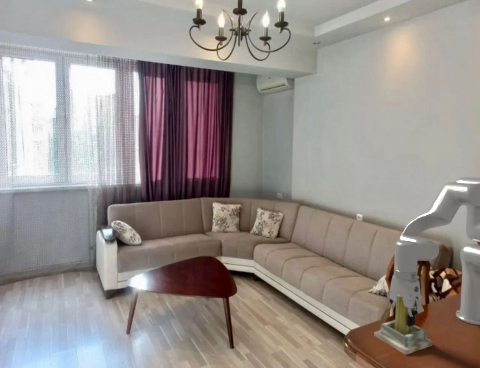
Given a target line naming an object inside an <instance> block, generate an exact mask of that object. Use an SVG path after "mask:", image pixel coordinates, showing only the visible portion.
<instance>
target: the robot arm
mask: <svg viewBox="0 0 480 368" xmlns="http://www.w3.org/2000/svg"><path fill="white" fill-rule="evenodd" d="M461 206H465V207H466V220H465V222H466V224H465V235H466V237H467V238H468V239H469V240H471V241H474V242H478V243H480V177H470V176H469V177H468V176H463V177H459V178H457V179H456V180H455V181H451V182H447V183H445V184H444V185H442V187H441V189H440V190H439V192H438V194H437V195H436V197H435V199H434V200H433V202H432V204H431V206H430V207H429V209H428V210H427V211H426V212H424V213H423V214H421V215H419V216H417V217H416V218H415V219H413V220H411V221H410V222H409V223H408V224H406V227H405V228H404V230H403V231H402V233H401V234H400V236H399V239H398V240H396V241H395V242H394V243H395V244H394V259H393V260H394V262H393V263H394V264H393V266H394V267H393V274H392V278H391V281H390V288H389V289H390V290H389V292H388V293H387V294H386V297H387V299H388V300H389V302H390V304H391V309H392V319H393V320H395V316H396V302H397V295H399V296H401V297H402V298H403V303H404V306H405V307H407V308H408V312H409V316H408V319H407V325H408V326H409V327H410V326H414V325H415V326H416V316H417V315H419V314H420V313H423V312H425V310H424V307H423V306H422V297H421V296H422V294H421V293H422V292H421V285H420V284H421V283H420V282H419V281H420V280H419V279H420V276H419V275H418V261H427V262H428V261H432V260H435V259H436V258H437V257H438V256H439V253H440V247H439V245H438V244H437V243H436V242H435V241H433V240H429V239H427V238H423V237H419V236H420V235H421V234H422V233H423V232H426V231H427V230H429V229H435V228H439V227H444V226H447V225H450V224H451V223H452V221H453V219H454V218H455V216H456V214H457V213H458V210H459V209H460V207H461ZM478 243H468V244H464V245H463V246H462V247H461V249H460V253H459V254H460V257H459V258H460V262H461V269H462V270H461V271H462V272H461V291H460V308H459V310H458V309H457V310H456V312H455V316H456V318H458V319H459V320H460V321H462V322H465V323H467V324H470V325H474V326H480V244H478Z"/></svg>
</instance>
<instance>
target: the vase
mask: <svg viewBox="0 0 480 368" xmlns="http://www.w3.org/2000/svg"><path fill="white" fill-rule="evenodd" d="M408 316H409V312H408V308H407V307H405V306H404V303H403V298H402V297H401V296H399V295H397V302H396V316H395V319H394V320H395V328H394V330H396V331H398V332H400V333H401V334H403V335H408V334H411V333H412V326H410V327H409V326H408V325H407V319H408Z"/></svg>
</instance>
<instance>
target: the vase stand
mask: <svg viewBox="0 0 480 368" xmlns="http://www.w3.org/2000/svg"><path fill="white" fill-rule="evenodd" d="M394 328H395V319H393V320H391V321H387V322H383V323H381V324H380V329H379V330H377V331H374V332H373V336H374V337H375V338H377V339H379V340H381V341H382V342H384V344H385V343H386V344H387V345H388V346H390V347H392V348H393V349H395V350H397V351H398V352H400V353H401V354H403V355H405V356H407V355H409V354H412V353H416V352H417V351H420V350H423V349H424V350H425V349H426V348H429V347H432V346H433V345H434V341H433V340H431V339H429V338H427V330H425V329H423V328H421V327H419V326H417V325H416V324H415V325H414V326H412V333H411V334H408V335H403V334H401V333H400V332H398V331H396V330H394Z"/></svg>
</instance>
